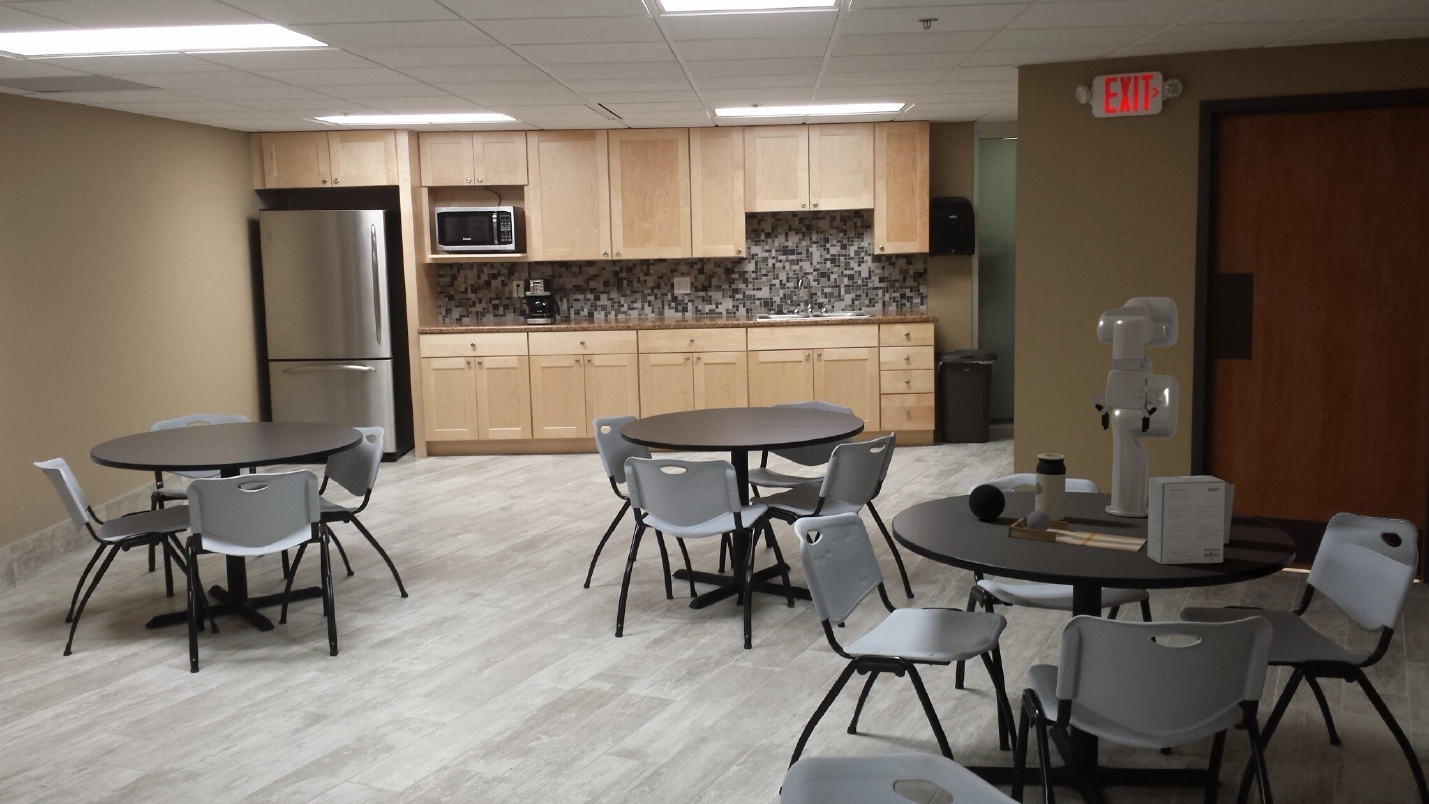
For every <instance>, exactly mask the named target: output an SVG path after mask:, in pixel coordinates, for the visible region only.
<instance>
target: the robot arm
mask: <svg viewBox="0 0 1429 804" xmlns="http://www.w3.org/2000/svg"><path fill="white" fill-rule="evenodd" d="M1096 336H1097V339H1098V341H1099V342H1100V343H1101V344H1104V345H1105V344H1107V345H1112V359H1111V360H1112V361H1111V369H1110V370H1109V371H1108V375H1107V379H1106V380H1107V381H1106V387H1105V391H1104V392H1102V393H1099V394H1097V395H1094V396H1092V397H1091V401H1092V403H1093V404H1094V406H1095V409H1096V410H1097V411H1098V412H1099V413H1100V414H1101V427H1103V431H1107V430H1108V429H1109V427H1110V423H1111V432H1112V440H1113V441H1112V443H1113V445H1112V447H1113V448H1112V450H1113V451H1112V475H1111V476H1112V477H1111V478H1112V479H1111V502H1110V505H1106V506H1105V512H1106V513H1107V514H1110V515H1114V516H1118V517H1125V518H1126V517H1127V518H1144V517H1149V507H1148V506H1147V503H1148V484H1149V483H1148V481H1149V480H1148V478H1149V477H1148V475H1149V457H1150V456H1149V455H1150V454H1149V452H1148V451H1149V450H1148V449H1147V447H1146V446H1145V445H1144V444H1143V442H1142V441H1141V440H1140V439H1155V440H1157V439H1158V440H1162V439H1163V440H1169V439H1172V438H1173V437H1174V436H1176V433H1177V430H1178V420H1179V419H1178V418H1179V402H1180V401H1179V400H1180V387H1179V386H1180V385H1179V383H1178V380H1177V379H1176V378H1175V377H1174V376H1172V375H1169V374H1168V375H1167V374H1153V370H1154V369H1153V368H1154V365H1153V364H1154V363H1153V362H1152V360H1151V359H1150V358H1149V357H1148V355H1147V354H1146V353H1145V352H1144V350H1145V349H1144V348H1170V347H1173V346H1175V345H1176V343H1177V342H1178V339H1179V338H1178V337H1179V313H1178V307H1177V304H1176V302H1175V301H1174V300H1173V299H1172V298H1170V297H1167V296H1161V297H1160V296H1159V297H1158V296H1156V297H1155V296H1138V297H1132V298H1130V299H1129V300H1127V301H1126V302H1125V303H1124V305H1123V306H1122V307H1118V308H1113V309H1109V310H1106V311H1104V312H1102V313H1101V314H1100V317H1099V319H1098V321H1097V325H1096ZM1103 398H1104V405H1105V406H1104V405H1102V404H1101V403H1100V402H1101V401H1100V400H1101V399H1103ZM1111 409H1113V410H1112V412H1111V415H1110V414H1109V411H1110V410H1111Z"/></svg>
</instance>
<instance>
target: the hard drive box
mask: <svg viewBox="0 0 1429 804" xmlns="http://www.w3.org/2000/svg"><path fill="white" fill-rule="evenodd" d="M1148 478H1149V480H1148V481H1149V483H1148V485H1149V487H1148V508H1149V516H1148V520H1147V521H1148V524H1147V525H1148V526H1147V527H1148V530H1147V531H1148V532H1147V558H1150V559H1151V560H1153V561H1155V562H1156V563H1158V564H1159V565H1180V564H1217V563H1219V564H1222V563H1223V562H1224V545H1225V544H1224V520H1225V493H1226V483H1227V482H1226V480H1223V479H1220V478H1218V477H1215V476H1213V475H1185V476H1184V475H1183V476H1179V475H1178V476H1158V477H1157V476H1154V477H1148Z"/></svg>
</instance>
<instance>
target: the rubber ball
mask: <svg viewBox="0 0 1429 804" xmlns="http://www.w3.org/2000/svg"><path fill="white" fill-rule="evenodd" d="M1027 517H1028V518H1027V526H1028V528H1029V529H1035V530H1044V531H1046V530H1048V528H1049V526H1050V518H1049V516H1048V515H1047V514H1046V513H1045V512H1043V511H1035V510H1033V511H1032V512H1031V513H1029V514H1028V516H1027Z"/></svg>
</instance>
